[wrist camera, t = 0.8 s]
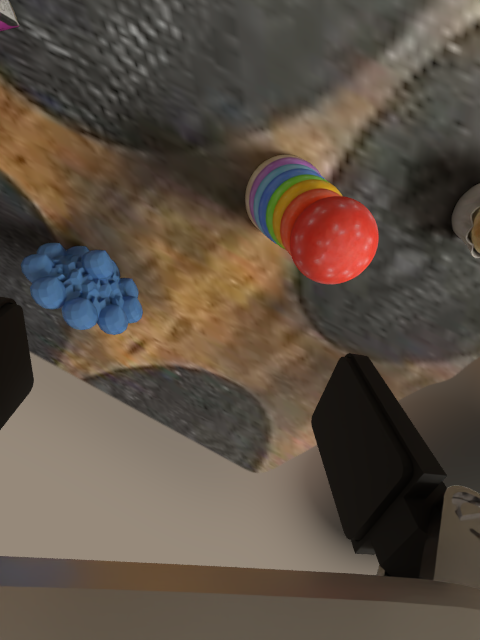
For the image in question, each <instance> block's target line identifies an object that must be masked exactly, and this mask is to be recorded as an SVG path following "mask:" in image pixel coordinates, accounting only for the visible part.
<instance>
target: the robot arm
mask: <svg viewBox="0 0 480 640" xmlns="http://www.w3.org/2000/svg"><path fill="white" fill-rule="evenodd" d="M33 382H34V378H33V372H32V365H31V359H30V353H29V347H28V340H27V334H26V328H25V321H24V315H23V310H22V307H21V306H19V305H17V304H16V302H15V301H14V300H13V299H11V298H5V297H0V430H1V428H2V427H3V426H4V424H5V423H6V422H7V421H8V419H9V418H10V417H11V416H12V414H13V413H14V412H15V410H16V409H17V408H18V407H19V405H20V404H21V403H22V402H23V400H24V399H25V398H26V396H27V395H28V394H29V392H30V391H31V389H32V387H33ZM311 423H312V428H313V432H314V435H315V438H316V442H317V445H318V448H319V452H320V455H321V458H322V461H323V465H324V468H325V471H326V475H327V478H328V481H329V484H330V488H331V491H332V494H333V498H334V501H335V504H336V508H337V511H338V514H339V517H340V521H341V524H342V527H343V531H344V533H345V535H346V537H347V538H348V539H351V542H352V545H353V548H354V551H355V553H357V554H372V555H374V554H376V556H377V559H378V562H379V564H380V565H379V568H378V572H377V575H362V574H348V573H330V572H311V571H293V570H275V569H255V568H237V567H217V566H198V565H178V564H157V563H137V562H115V561H94V560H75V559H74V560H73V559H53V558H52V559H51V558H29V557H8V556H0V640H480V494H479V493H477V492H475V491H474V490H472V489H469V488H466V487H463V486H451V487H449V488H446V486H445V484H444V483H443V480H444V479H445V478H446V477H447V475H446V473H445V472H444V470H443V469H442V467H441V466H440V464H439V463H438V461H437V460H436V458H435V457H434V455H433V454H432V452H431V451H430V449H429V448H428V446H427V445H426V443H425V442H424V440H423V439H422V437H421V436H420V434H419V433H418V431H417V430H416V428H415V427H414V425H413V424H412V422H411V421H410V419H409V418H408V416H407V415H406V413H405V412H404V410H403V408H402V407H401V405H400V404H399V402H398V401H397V399H396V398H395V396H394V395H393V393H392V392H391V390H390V389H389V387H388V386H387V384H386V383H385V381H384V380H383V378H382V377H381V375H380V374H379V372H378V371H377V369H376V368H375V366H374V365H373V363H372V362H371V360H370V359H369V358H368V357H367V356H363V355H357V354H351V353H349V354H347V355H346V356H345V357H341V358H340V359H339V361H338V363H337V365H336V367H335V369H334V371H333V373H332V376H331V378H330V380H329V382H328V384H327V386H326V388H325V390H324V392H323V394H322V396H321V398H320V401H319V403H318V405H317V407H316V409H315V411H314V413H313V415H312V421H311Z"/></svg>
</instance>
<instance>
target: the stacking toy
mask: <svg viewBox="0 0 480 640" xmlns="http://www.w3.org/2000/svg"><path fill="white" fill-rule="evenodd" d="M245 204H246V210H247V213H248V216H249V218H250V220H251V221H252V223H253V224H254V225H255V227H256V228H257V229H259V230H260V231H261V232H263V234H264V235H265V236H267V237H268V238H269V239H270V240H271V241H273V242H274V243H276V244H278V245H279V246H280V247H282V248H284V249H286V250H287V251H288V253H289V254H290V255H291V256H292V259H293V261H294V263H295V265H296V266H297V268H298V269H299V270H300V271H301V272H302V273H303V274H304V275H305V276H306V277H308V278H309V279H311V280H314V281H316V282H319V283H323V284H338V283H342V282H346V281H348V280H351V279H353V278H354V277H356V276H357V275H359V274H360V273H361V272H363V271H364V270H365V269H366V268H367V266H368V265H369V264H370V262H371V261H372V259H373V257H374V255H375V253H376V250H377V246H378V228H377V225H376V221H375V219H374V217H373V216H372V214H371V213H370V211H369V210H368V209H367V208H366V207H365V206H364V205H363V204H361V203H360V202H358V201H356V200H354V199H351V198H348V197H342V195H341V193H340V192H339V191H338V189H337V188H336V187H334V186H333V185H332V184H330V183H329V182H328V181H326V180H325V179H324V178H323V177H322V176H321V175H320V173H319V172H318V170H317V169H316V168H315V167H314V166H313V165H312V164H310V163H309V162H307V161H305V160H304V159H302V158H300V157H298V156H294V155H278V156H275V157H272V158H270V159H268V160H266V161H265V162H263V163H262V164H261V165H260V166H259V167H258V168H257V169H256V170H255V171H254V173H253V174H252V176H251V178H250V180H249V182H248V185H247V188H246V194H245Z"/></svg>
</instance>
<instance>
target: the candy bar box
mask: <svg viewBox="0 0 480 640" xmlns="http://www.w3.org/2000/svg"><path fill="white" fill-rule="evenodd" d="M15 27H19V23H18V21H17V18H16V15H15V13H14V10H13V8H12V6H11V4H10V2H9V0H0V31H4V30H7V29H11V28H15Z"/></svg>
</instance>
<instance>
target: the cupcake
mask: <svg viewBox="0 0 480 640" xmlns="http://www.w3.org/2000/svg"><path fill="white" fill-rule="evenodd" d="M452 227H453V231H454V232H455V234H456V235H457V236H458V237H459V238H460V239H461V240H462V241H463V242H464V243H465V244H466V245H467V246H468V248H469V250H470V252H471V254H472V256H473V257H475V258H480V183H479V184H477V185H475V186H473V187H472V188H470V189H469V190H468V191H467V192H466V193H465V194H464V195H463V196H462V197H461V198H460V199H459V201H458V202H457V204H456V206H455V208H454V211H453V213H452Z"/></svg>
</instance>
